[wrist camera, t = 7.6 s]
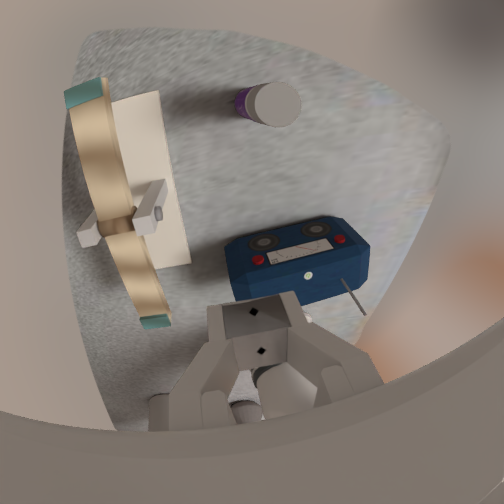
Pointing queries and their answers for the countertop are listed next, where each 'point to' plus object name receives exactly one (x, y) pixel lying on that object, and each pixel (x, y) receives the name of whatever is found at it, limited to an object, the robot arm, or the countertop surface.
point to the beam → (114, 198)
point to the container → (269, 104)
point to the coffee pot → (246, 412)
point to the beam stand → (147, 182)
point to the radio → (299, 262)
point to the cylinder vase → (159, 413)
